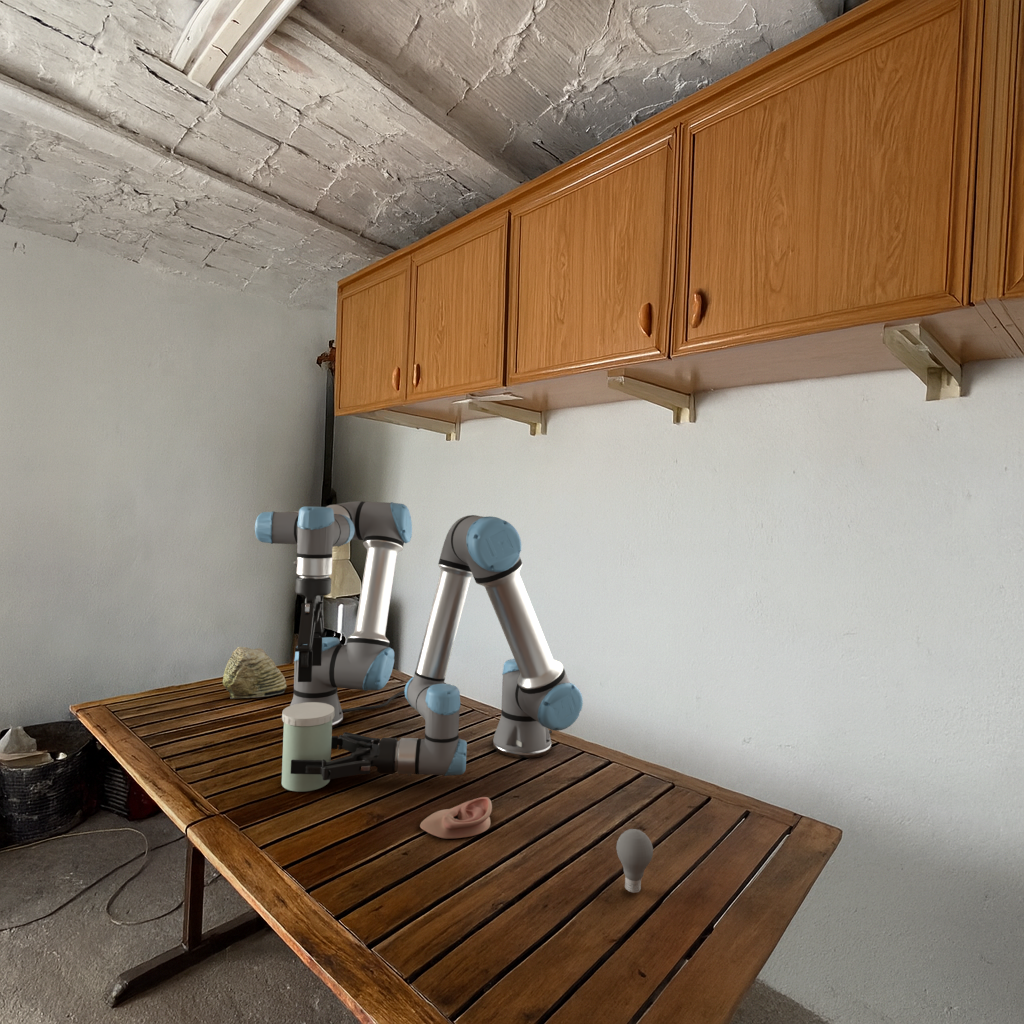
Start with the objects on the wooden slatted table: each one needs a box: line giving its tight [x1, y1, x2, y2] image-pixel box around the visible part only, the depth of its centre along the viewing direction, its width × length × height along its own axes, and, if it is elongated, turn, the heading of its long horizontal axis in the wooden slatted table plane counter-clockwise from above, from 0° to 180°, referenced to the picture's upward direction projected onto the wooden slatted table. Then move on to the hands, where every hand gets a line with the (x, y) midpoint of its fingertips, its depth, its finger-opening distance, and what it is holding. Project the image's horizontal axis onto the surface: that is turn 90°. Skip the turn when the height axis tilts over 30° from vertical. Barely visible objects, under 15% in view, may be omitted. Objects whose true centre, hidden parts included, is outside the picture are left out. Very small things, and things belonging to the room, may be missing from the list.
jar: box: [281, 720, 333, 793], centre depth 141 cm, size 10×10×15 cm
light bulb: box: [615, 828, 654, 894], centre depth 106 cm, size 6×6×10 cm
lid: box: [281, 702, 335, 727], centre depth 140 cm, size 11×11×2 cm
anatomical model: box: [419, 796, 493, 840], centre depth 124 cm, size 13×4×12 cm
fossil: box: [222, 646, 288, 699], centre depth 198 cm, size 9×18×15 cm, turn 132°
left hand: (310, 673), depth 140 cm, fingers open, 12 cm apart
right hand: (300, 753), depth 140 cm, fingers open, 13 cm apart
